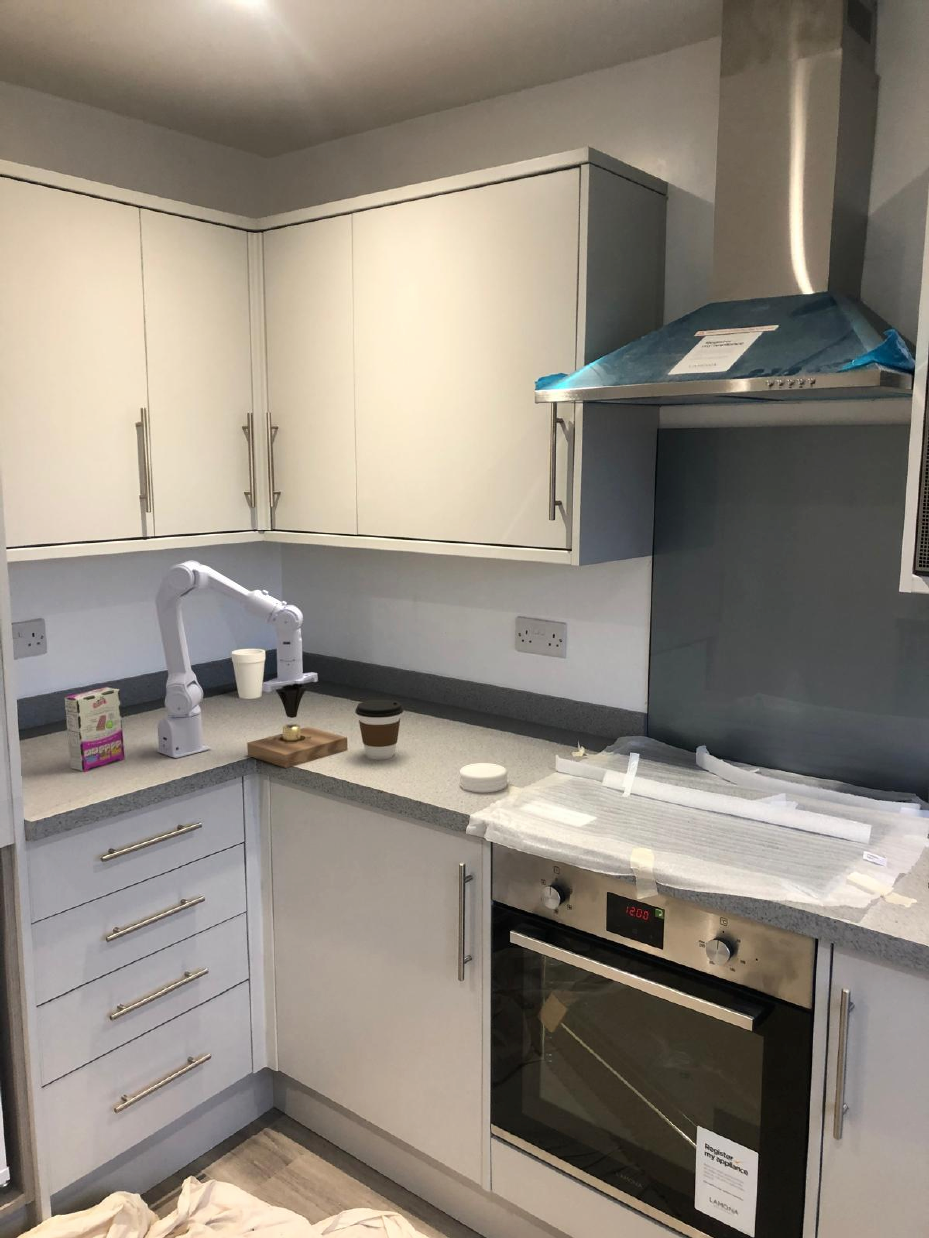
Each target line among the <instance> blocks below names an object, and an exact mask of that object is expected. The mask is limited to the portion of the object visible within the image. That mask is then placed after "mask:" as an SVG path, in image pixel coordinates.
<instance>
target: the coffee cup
mask: <svg viewBox="0 0 929 1238" xmlns="http://www.w3.org/2000/svg"><path fill="white" fill-rule="evenodd" d="M354 713H355V714H356V715H358V722H359V723H358V724H359V728H360V729H359V730H360V735H361V740H362V744H363V747H364V752H365V755H366V756H367V758H369V759H371V760H388V759H391V758H393V757H394V755H395V752H396V746H397V743H398V739H399V731H400V724H401V714H403V713H404V707H403V705H402V703H401V702H399V701H397V700H394V699H369V700H365V701H361V702H360V703H358V705H357V707H356V708H355V712H354Z"/></svg>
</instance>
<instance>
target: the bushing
mask: <svg viewBox="0 0 929 1238" xmlns="http://www.w3.org/2000/svg"><path fill="white" fill-rule="evenodd" d="M300 729H301V725H300V724H298V723H287V724H283V725H282V734H283V742H298V741H301V736H300Z"/></svg>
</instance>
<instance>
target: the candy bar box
mask: <svg viewBox="0 0 929 1238" xmlns="http://www.w3.org/2000/svg"><path fill="white" fill-rule="evenodd" d="M120 695H121V693H120V688H113V687H110V686H109V687H108V686H105V687H102V688H96V689H92V690H90V691H89V690H88V691H86V692H85V691H84V692H81V693H77V694H73V695H69V696H65V697H64V698H63V699H64V706H65V707H64V709H65V710H64V711H65V719H66V720H65V721H66V729H67V730H66V731H67V732H66V733H67V741H68V753H69V755H68V756H69V766H70V769H72V770H74V771H79V772H85V773H86V772H88V771H91V770H95V769H98V768H102V767H104V766H106V765H110V764H113V763H115V762H116V763H117V762H118V761H122V760H124V759H125V746H124V734H123V724H122V722H123V721H122V720H123V719H122V709H121V696H120Z"/></svg>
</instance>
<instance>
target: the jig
mask: <svg viewBox="0 0 929 1238" xmlns="http://www.w3.org/2000/svg"><path fill="white" fill-rule="evenodd" d="M300 736H301V741H298V742H283V733H280V734H275V735H271V736H268V737H265V738H264V737H263V738H260V739H256V740H253V741H249V742H247V743H246V744H247V749H246V750H247V756H248V757H251V758H255V759H256V760H257V759H258V760H261V761H264V762H268V763H270V764H273V765H277V766H279V767H281V768H285V769H287V768H290V767H294V766H297V765H300V764H305V763H307V762H311V761H314V760H317V759H321V758H323V757H328V756H331V755H334V754H338V753H342V752H344V751H348V737H346V736H343V735H339V734H336V733H332V732H329V731H325V730H322V729H318V728H313V727H311V726H306V727H302V728H300Z"/></svg>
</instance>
